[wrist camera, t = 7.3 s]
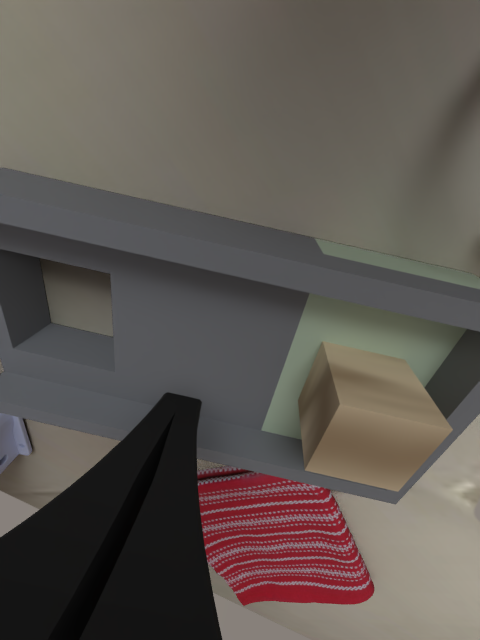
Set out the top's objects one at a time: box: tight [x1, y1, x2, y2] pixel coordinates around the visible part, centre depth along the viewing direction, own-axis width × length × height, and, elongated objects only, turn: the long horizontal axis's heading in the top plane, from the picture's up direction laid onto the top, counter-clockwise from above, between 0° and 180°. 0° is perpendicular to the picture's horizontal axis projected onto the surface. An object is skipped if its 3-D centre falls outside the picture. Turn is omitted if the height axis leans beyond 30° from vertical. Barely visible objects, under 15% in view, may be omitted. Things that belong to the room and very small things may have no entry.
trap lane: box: [0, 168, 480, 504], centre depth 14 cm, size 12×24×5 cm, turn 79°
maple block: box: [298, 341, 453, 492], centre depth 12 cm, size 4×4×4 cm
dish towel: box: [197, 466, 374, 606], centre depth 28 cm, size 17×24×3 cm
